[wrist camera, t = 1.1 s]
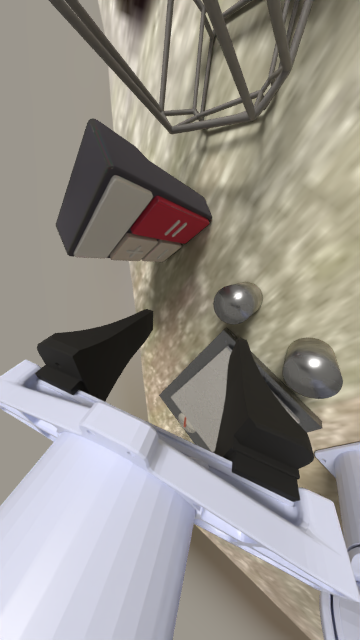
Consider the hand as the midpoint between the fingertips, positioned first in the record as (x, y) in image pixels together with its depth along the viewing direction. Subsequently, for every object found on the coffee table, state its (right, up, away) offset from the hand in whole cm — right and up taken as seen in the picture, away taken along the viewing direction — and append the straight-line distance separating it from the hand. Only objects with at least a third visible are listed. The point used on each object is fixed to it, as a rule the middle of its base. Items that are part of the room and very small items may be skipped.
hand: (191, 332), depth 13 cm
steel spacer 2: (+14, -3, +6) cm, 16 cm away
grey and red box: (-1, +15, +12) cm, 19 cm away
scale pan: (+6, -13, +13) cm, 19 cm away
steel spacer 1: (+8, +4, +9) cm, 12 cm away
